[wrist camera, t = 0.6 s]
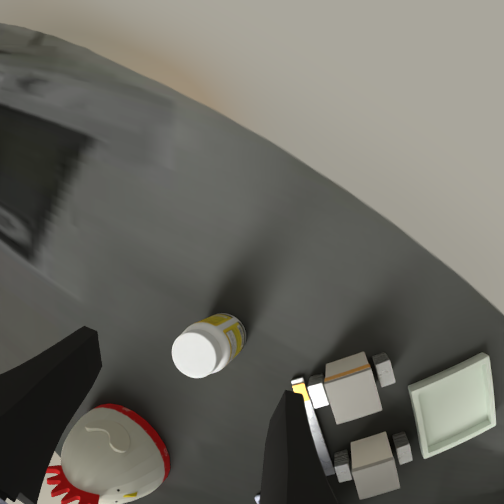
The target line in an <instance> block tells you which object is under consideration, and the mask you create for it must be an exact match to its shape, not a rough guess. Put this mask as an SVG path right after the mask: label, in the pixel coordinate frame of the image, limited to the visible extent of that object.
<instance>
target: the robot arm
mask: <svg viewBox="0 0 504 504" xmlns="http://www.w3.org/2000/svg"><path fill="white" fill-rule="evenodd" d="M101 367H102V361H101V355H100V348H99V341H98V334H97V331H95V330H93V329H90V328H88V327H86V326H83V327H82V328H80V329H78V330H77V331H75V332H74V333H72V334H71V335H69V336H67V337H66V338H64V339H63V340H61V341H60V342H58V343H57V344H55V345H53V346H52V347H50V348H49V349H47V350H45V351H44V352H42V353H41V354H39V355H37V356H36V357H34V358H32V359H30V360H28V361H27V362H25V363H23V364H21V365H19V366H17V367H15V368H13V369H11V370H9V371H7V372H5V373H3V374H0V504H7V503H6V502H5V500H6V498H9V499H10V500H12V501H13V502H15V500H16V499H18V500H19V501H21V502H22V503H24V504H37V500H38V497H39V493H40V489H41V486H42V483H43V480H44V477H45V474H46V471H47V468H48V465H49V463H50V460H51V458H52V455H53V453H54V451H55V448H56V446H57V444H58V442H59V440H60V438H61V435H62V433H63V432H64V430H65V428H66V426H67V425H68V423H69V422H70V420H71V418H72V417H73V415H74V414H75V412H76V411H77V409H78V408H79V406H80V405H81V403H82V402H83V400H84V399H85V397H86V395H87V394H88V392H89V391H90V389H91V388H92V386H93V384H94V382H95V380H96V378H97V376H98V374H99V372H100V370H101ZM255 500H256V502H257V504H339V502H338V500H337V498H336V497H335V495H334V492H333V490H332V488H331V486H330V484H329V482H328V479H327V477H326V474H325V472H324V469H323V467H322V464H321V461H320V459H319V456H318V453H317V449H316V446H315V443H314V440H313V436H312V433H311V429H310V425H309V421H308V417H307V412H306V407H305V402H304V396H303V394H302V393H297V392H292V391H288V390H285V392H284V394H283V396H282V398H281V400H280V402H279V404H278V406H277V408H276V410H275V412H274V414H273V416H272V417H271V419H270V424H269V429H268V433H267V438H266V443H265V453H264V463H263V473H262V483H261V493H260V495H256V497H255Z"/></svg>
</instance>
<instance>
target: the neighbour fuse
mask: <svg viewBox="0 0 504 504" xmlns="http://www.w3.org/2000/svg"><path fill="white" fill-rule="evenodd" d="M351 457H352V475H353V478H354V481H355V485H356V488H357V491H358V495H359V498H360V500H361V499H365V498H369V497H372V496H376V495H379V494H383V493H386V492H389V491H392V490H395V489H398V488H400V485H399V480H398V475H397V470H396V465H395V461H394V457H393V455H392V452H391V448H390V444H389V441H388V438H387V434H386V431H385V432H382V433H379V434H376V435H373V436H370V437H367V438H364V439H360V440H357V441H354V442H351Z"/></svg>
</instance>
